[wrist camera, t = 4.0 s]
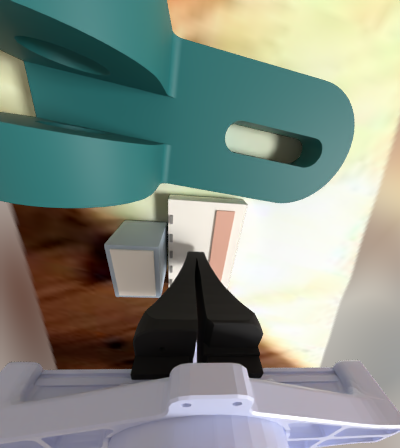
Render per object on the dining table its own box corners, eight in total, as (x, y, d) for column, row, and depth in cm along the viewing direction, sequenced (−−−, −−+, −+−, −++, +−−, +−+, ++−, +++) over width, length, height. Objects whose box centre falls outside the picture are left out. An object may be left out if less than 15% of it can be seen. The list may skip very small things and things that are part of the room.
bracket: (71, 157, 12) (-113, 184, 5) (50, 22, 8) (-599, -510, 2) (298, 199, 14) (407, 261, 7) (345, 104, 11) (630, 38, 4)
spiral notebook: (224, 285, 18) (226, 295, 17) (170, 283, 17) (168, 294, 16) (243, 199, 13) (248, 205, 12) (170, 194, 13) (167, 200, 12)
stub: (166, 266, 16) (160, 299, 13) (131, 265, 16) (115, 298, 13) (166, 222, 14) (158, 248, 11) (124, 220, 14) (103, 245, 10)
